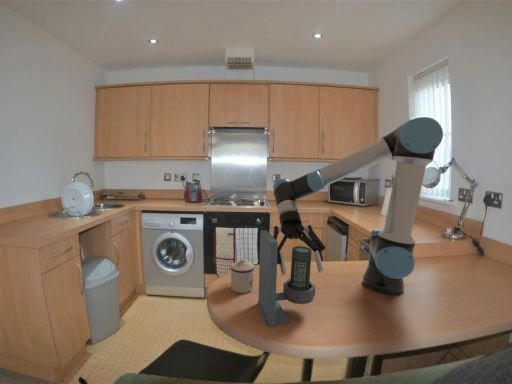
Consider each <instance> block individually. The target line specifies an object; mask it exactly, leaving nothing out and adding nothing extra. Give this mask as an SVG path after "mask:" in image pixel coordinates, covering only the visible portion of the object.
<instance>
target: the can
mask: <svg viewBox="0 0 512 384" xmlns="http://www.w3.org/2000/svg"><path fill="white" fill-rule="evenodd" d="M312 252H313V250H312V249H311V248H310V247H309V246H304V245H303V246H301V245H299V246H298V245H297V246H293V247H292V250H291V264H290V265H291V266H290V278H289V279H290V288H291V289H294V290H297V291H305V290H309V281H311V279H310V277H311V265H312V264H311V263H312V254H313V253H312Z"/></svg>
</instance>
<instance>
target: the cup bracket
mask: <svg viewBox="0 0 512 384" xmlns="http://www.w3.org/2000/svg"><path fill="white" fill-rule="evenodd" d="M259 234H260V235H259V236H260V237H259V270H258V300H257V306H258V309H259V312H260V313H261V316H262V318H263V321H264V324H265V326H267V327H268V328H273V327H274V328H275V327H276V325H279V324H280V325H281V324H288V323H289V318H288V316H287V314H286V313H285V311H284V308H283V307H282V305H281V304H280V302H279V301H286V300H287V301H289V302H290V303H293V304H297V305H306V304H310V303H312V302H313V301H314V299H315V298H314V297H315V296H316V285H315V284H313V282H312V281H311V280H310V281H309V290H305V291H297V290H294V289H291V288H290V278H288V279H287V280H286V281H285V282H283V287H282V289H283V290H282V292H277V281H278V280H277V279H278V276H277V275H278V274H277V273H278V264H277V250H278V246H279V244H278V243H279V242H278V240H275V239H274V238H273V236H272V234H271V233H269V231H268V230H267V229H260V231H259Z"/></svg>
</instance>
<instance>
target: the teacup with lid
mask: <svg viewBox="0 0 512 384" xmlns="http://www.w3.org/2000/svg"><path fill="white" fill-rule="evenodd" d="M230 270H231V271H230V276H231V277H230V289H231V290H232V292H234V293H236V294H249V293H250V292H252V291H253V289H254V272H255V271H254V270H255V266H254V264H253V263H251V262H249V261H247V260H246V259H245V258H240V259H239V261H237V262H233V263H232V264H231V266H230Z"/></svg>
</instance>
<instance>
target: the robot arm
mask: <svg viewBox="0 0 512 384" xmlns="http://www.w3.org/2000/svg"><path fill="white" fill-rule="evenodd" d="M443 137H444V131H443V127H442V125H441V123H439V122H438V121H437V120H436V119H434V118H432V117H430V116H424V115H423V116H422V115H421V116H415V117H412V118H409V119H408V120H407V121H405V122H403V124H400V125H399V126H398V127H397V128H395V130H393V131H391V132H390V133H388V134H387V135H385V136H384V135H383V136H381V138H379V141H378V142H375V143H372V144H370V145H369V146H367V147H364V148H363V149H360V150H358V151H355V152H353V153H351V154H349V155H346V156H344V157H343V158H340V159H339V160H336V161H334V162H332V163H330V164H327V165H325V166H323V167H321V168H318V169H317V170H314V171H311V172H308V173H306V174H305V175H301V176H299V177H297V178H295V179H293V180H290V179H288V178H282V179H281V178H279V179H277V180H276V181H274V183H273V185H272V190H273V196H274V199H275V204H276V208H277V214H278V217H279V218H278V219H279V224H280V227H279V226H277V225H275V226H274V227H273V229H272V233H273V236H272V237H273V238H274V239H275V240H276V241H278V236H279V234H280V232H281V233H282V234H283V237H282V239H281V240H280V243H279V244H278V250H277V265H279V268H280V273H281V276H285V274H286V273H287V270H286V264H285V258H284V254H283V252H282V251H281V250H282V248H283V247H284V245H285V243H286V242H287V239H289V240H299V241H302V242H303V243H304V244H305V245H306V247H308V248H310V249H312V252H314V253H313V257H314V260H315V264H316V267H317V271H318V273H319V274H320V273H322V272H323V271H324V270H325V268H324V265H323V260H324V257H323V254H322V252H324V250H325V249H326V245H325V244H324V242H322V241H321V239H320V238H319V237H318V236H317V234H316V233H315V232H314V230H313V227H312V225H311V224H308V225H307V226H304V225H303V223H302V220H301V214H300V212H299V207H298V205H297V201H298V200H300V199H302V198H304V197H308V196H310V195H312V194H314V193H317V192H319V191H322V190H324V189H325V187H326V186H328V185H329V186H330V184H331V185H332V184H334V183H335V182H338V181H341V180H343V179H345V178H347V177H350V176H352V175H354V174H356V173H359V172H361V171H363V170H365V169H368V168H370V167H373V166H375V165H377V164H380V163H382V162H384V161H388V160H389V161H393V160H395V162H396V166H395V171H394V177H393V182H392V187H391V192H390V196H389V202H388V207H387V210H386V212H387V213H386V217H385V222H384V227H383V229H379V228H378V229H377V228H375V229H372V230H371V232H370V235H369V238H370V240H369V250H368V251H369V252H368V265H367V267H366V269H365V272H364V274H363V276H362V283H363V286H365V287H366V288H367V289H370V290H371V291H373V292H377V293H380V294H385V295H386V294H387V295H398V294H402V293H403V292H404V289H405V288H404V287H405V283H404V278H406V277H408V276H410V275H411V274H412V272H413V271H414V270H415V264H416V262H415V261H416V260H415V257H414V255H413V254H414V249H415V246H416V240H415V239H414V237H413V236H412V234H413V229H414V226H415V225H414V224H415V221H416V220H415V219H416V215H417V210H418V206H419V201H420V196H421V191H422V189H423V188H422V186H423V181H424V179H425V172H426V169H427V166H428V165H430V164H431V163H433V161H434V156H435V153H436V149H437V148H439V146H440V144H441V142H442V140H443Z"/></svg>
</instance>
